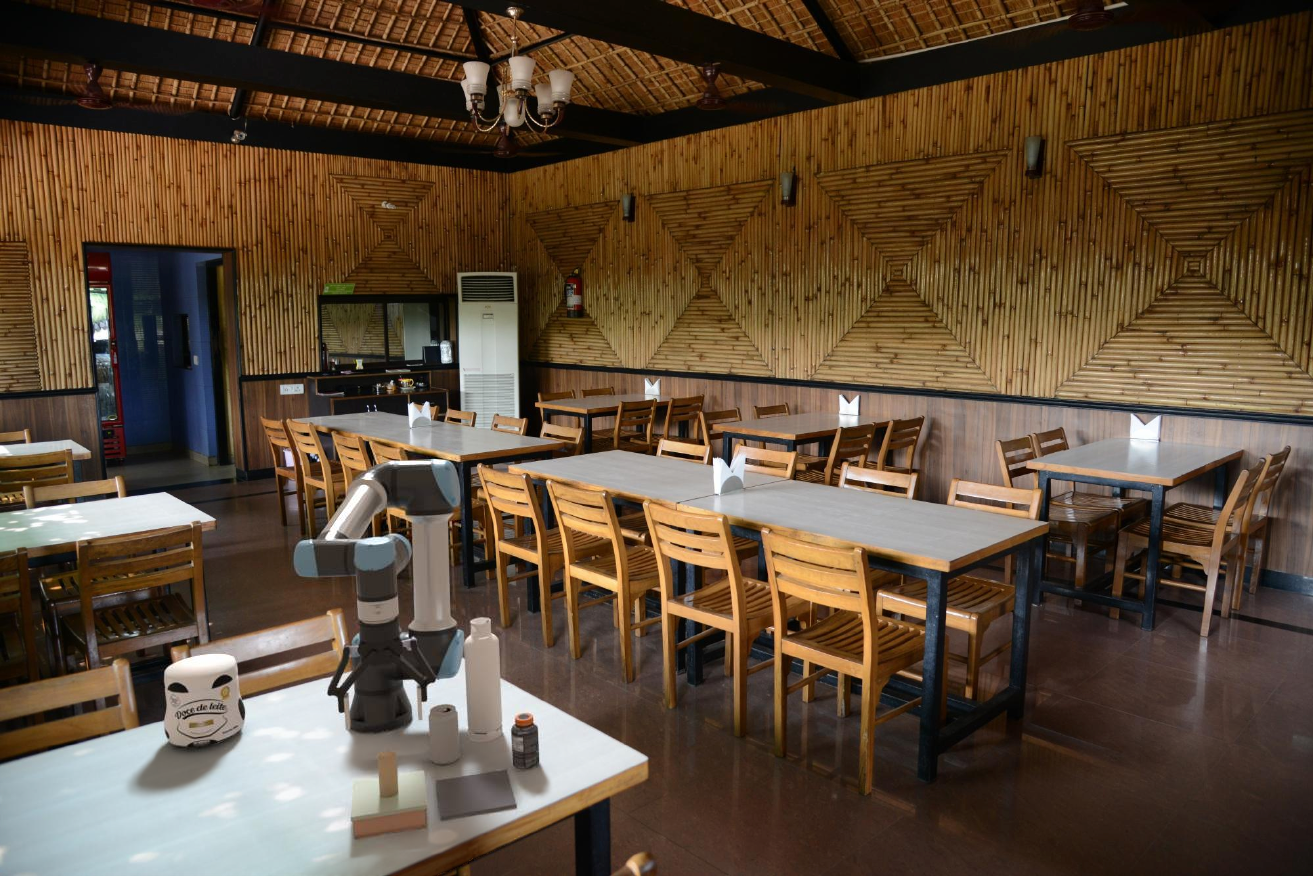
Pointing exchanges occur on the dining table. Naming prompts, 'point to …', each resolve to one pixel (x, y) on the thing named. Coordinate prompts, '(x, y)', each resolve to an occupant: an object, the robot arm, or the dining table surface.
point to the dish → (389, 824)
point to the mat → (475, 794)
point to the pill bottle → (525, 742)
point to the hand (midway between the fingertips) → (384, 722)
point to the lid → (388, 791)
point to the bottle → (483, 682)
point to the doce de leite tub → (203, 701)
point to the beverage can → (444, 734)
